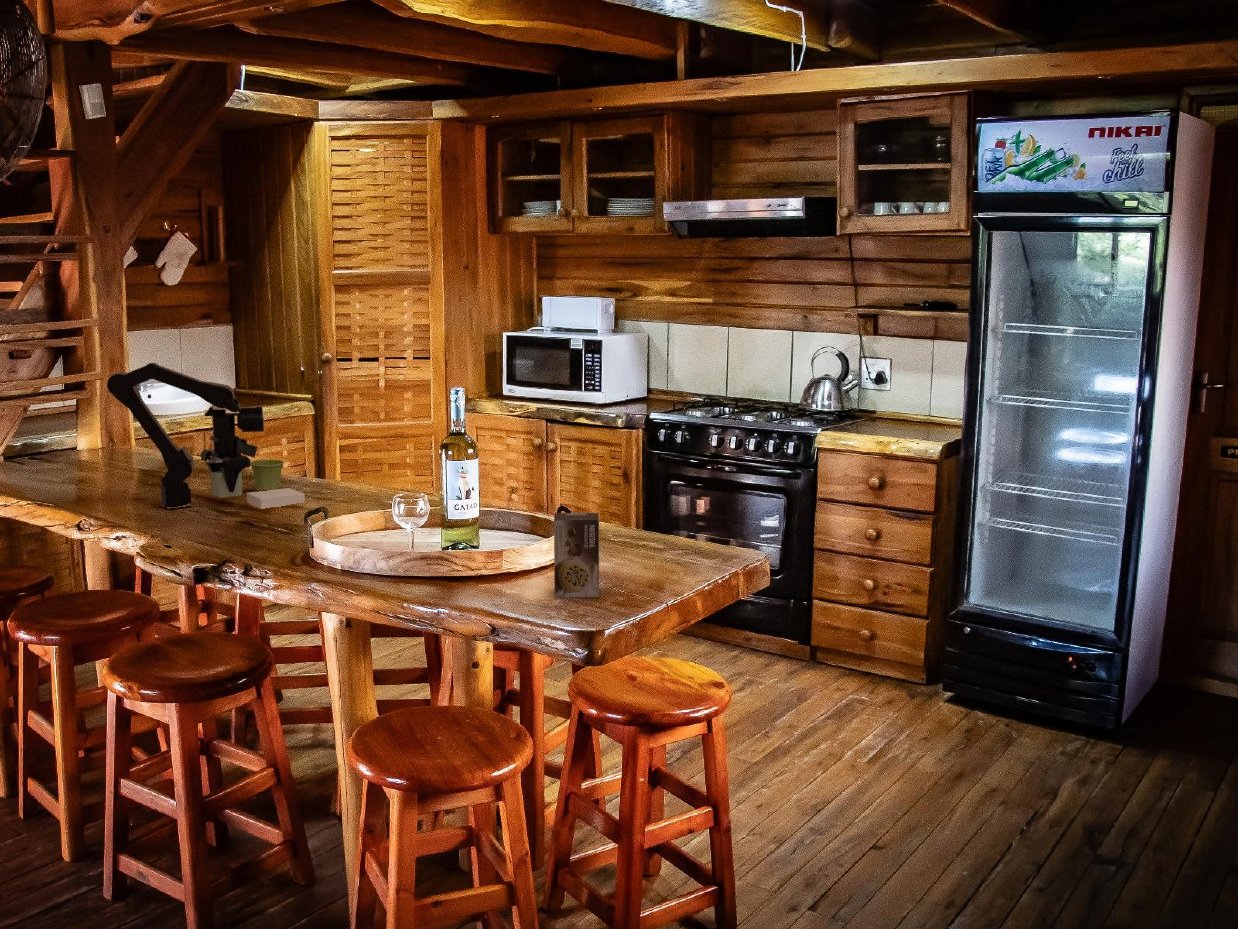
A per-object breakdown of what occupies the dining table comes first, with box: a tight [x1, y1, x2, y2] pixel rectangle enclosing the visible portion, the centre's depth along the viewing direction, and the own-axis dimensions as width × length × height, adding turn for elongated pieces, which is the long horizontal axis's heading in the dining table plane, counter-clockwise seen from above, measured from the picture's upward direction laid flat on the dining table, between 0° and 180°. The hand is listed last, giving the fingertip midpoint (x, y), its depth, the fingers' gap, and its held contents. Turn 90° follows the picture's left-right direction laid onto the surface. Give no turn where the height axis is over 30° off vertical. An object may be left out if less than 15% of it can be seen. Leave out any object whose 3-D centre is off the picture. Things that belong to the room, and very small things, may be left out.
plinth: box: [246, 487, 306, 509], centre depth 319 cm, size 12×10×4 cm
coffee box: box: [553, 512, 600, 599], centre depth 239 cm, size 9×6×16 cm
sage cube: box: [209, 471, 243, 499], centre depth 319 cm, size 6×6×6 cm
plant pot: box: [250, 459, 285, 490], centre depth 337 cm, size 9×9×9 cm
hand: (226, 490), depth 319 cm, fingers closed on sage cube, 6 cm apart
